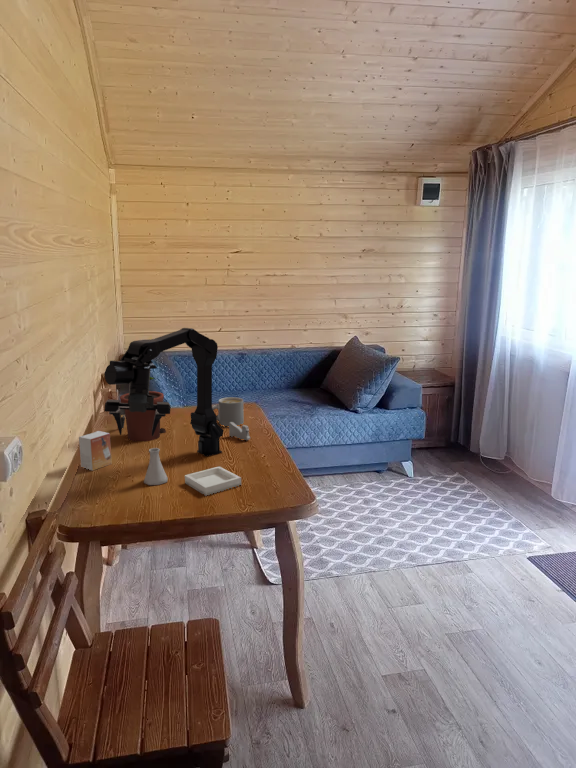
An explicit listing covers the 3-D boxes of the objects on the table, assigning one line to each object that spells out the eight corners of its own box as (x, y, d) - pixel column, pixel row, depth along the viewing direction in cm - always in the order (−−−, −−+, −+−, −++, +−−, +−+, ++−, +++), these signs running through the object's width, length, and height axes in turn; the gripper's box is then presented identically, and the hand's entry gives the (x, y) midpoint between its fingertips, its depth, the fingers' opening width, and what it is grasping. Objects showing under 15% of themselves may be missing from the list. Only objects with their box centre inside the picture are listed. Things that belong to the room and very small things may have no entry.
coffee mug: (244, 420, 233) (243, 397, 231) (243, 427, 223) (242, 403, 221) (212, 420, 232) (211, 397, 230) (209, 427, 223) (208, 403, 221)
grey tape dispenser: (232, 436, 212) (251, 441, 206) (229, 437, 211) (248, 442, 205) (231, 421, 211) (250, 426, 205) (229, 422, 210) (248, 427, 204)
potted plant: (116, 445, 201) (112, 377, 196) (119, 428, 222) (115, 366, 217) (167, 441, 205) (163, 374, 200) (165, 425, 226) (162, 364, 221)
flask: (146, 487, 163) (144, 455, 161) (140, 479, 170) (139, 447, 167) (171, 483, 167) (169, 451, 164) (164, 475, 173) (162, 444, 171)
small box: (92, 471, 176) (89, 439, 174) (80, 468, 179) (78, 436, 177) (112, 463, 183) (110, 432, 180) (100, 460, 186) (98, 430, 183)
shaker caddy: (219, 473, 174) (219, 466, 173) (241, 485, 165) (241, 477, 164) (185, 483, 166) (184, 475, 166) (205, 496, 157) (205, 487, 157)
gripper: (104, 385, 156) (101, 440, 158) (172, 388, 161) (169, 442, 162) (107, 380, 167) (104, 431, 169) (171, 384, 172) (168, 434, 173)
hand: (136, 435), depth 168 cm, fingers open, 9 cm apart
